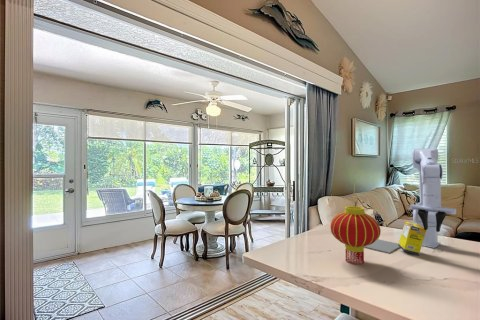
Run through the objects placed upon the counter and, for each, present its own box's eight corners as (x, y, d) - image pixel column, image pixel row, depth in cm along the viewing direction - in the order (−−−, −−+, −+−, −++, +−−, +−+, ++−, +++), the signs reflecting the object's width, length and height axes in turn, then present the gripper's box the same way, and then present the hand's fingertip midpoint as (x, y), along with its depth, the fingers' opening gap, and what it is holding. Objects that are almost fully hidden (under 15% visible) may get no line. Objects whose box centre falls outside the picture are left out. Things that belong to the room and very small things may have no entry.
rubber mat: (369, 238, 129) (369, 237, 129) (403, 245, 118) (403, 244, 118) (353, 244, 119) (353, 243, 119) (389, 253, 107) (389, 252, 107)
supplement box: (419, 255, 106) (427, 229, 104) (403, 251, 107) (410, 225, 105) (412, 248, 112) (420, 224, 110) (397, 245, 113) (404, 220, 111)
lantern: (376, 256, 104) (375, 180, 105) (384, 273, 88) (384, 183, 88) (330, 251, 110) (330, 179, 110) (330, 267, 93) (330, 182, 94)
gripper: (407, 194, 106) (407, 228, 106) (452, 197, 95) (453, 236, 95) (413, 193, 111) (413, 225, 110) (457, 196, 100) (457, 232, 99)
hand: (431, 230), depth 103 cm, fingers open, 3 cm apart
